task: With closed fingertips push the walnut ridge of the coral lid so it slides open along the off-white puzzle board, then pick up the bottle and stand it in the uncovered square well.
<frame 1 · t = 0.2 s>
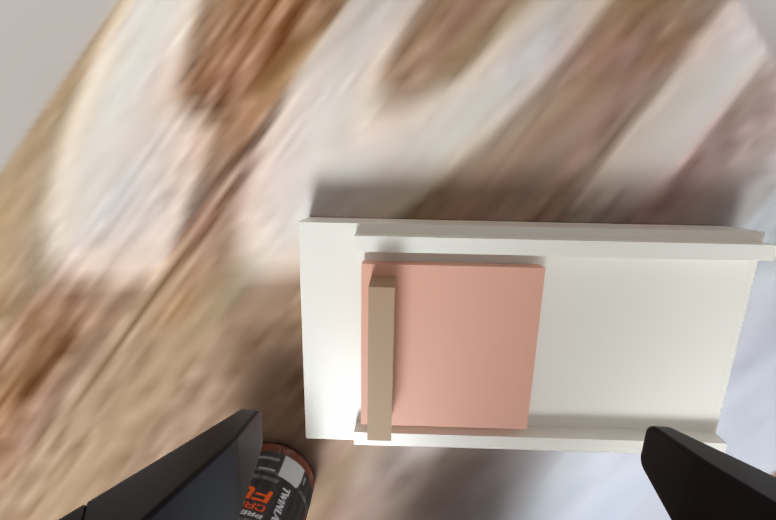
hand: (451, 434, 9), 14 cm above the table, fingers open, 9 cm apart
supplement bottle: (274, 472, 26), on the table
board: (504, 326, 23), on the table
lid: (449, 355, 19), point 4 cm above the table, slide at 0.0 cm
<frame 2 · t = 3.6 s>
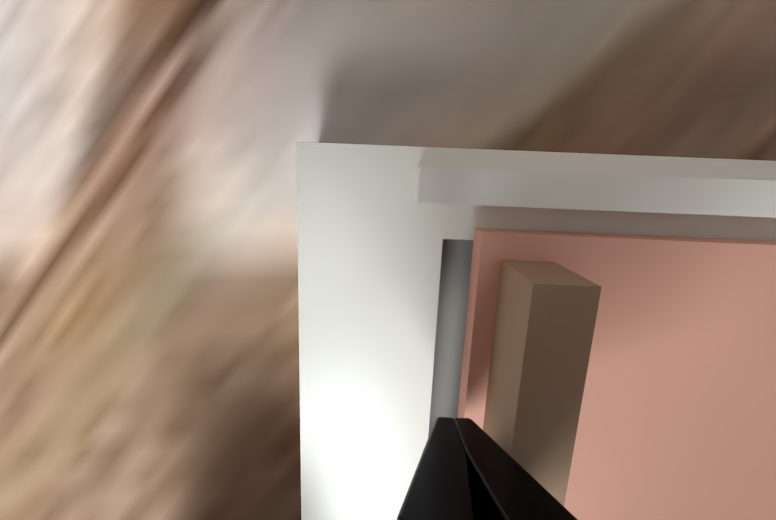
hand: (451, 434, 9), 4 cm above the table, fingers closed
board: (665, 360, 13), on the table
lid: (665, 438, 9), point 4 cm above the table, slide at 1.1 cm, touching gripper
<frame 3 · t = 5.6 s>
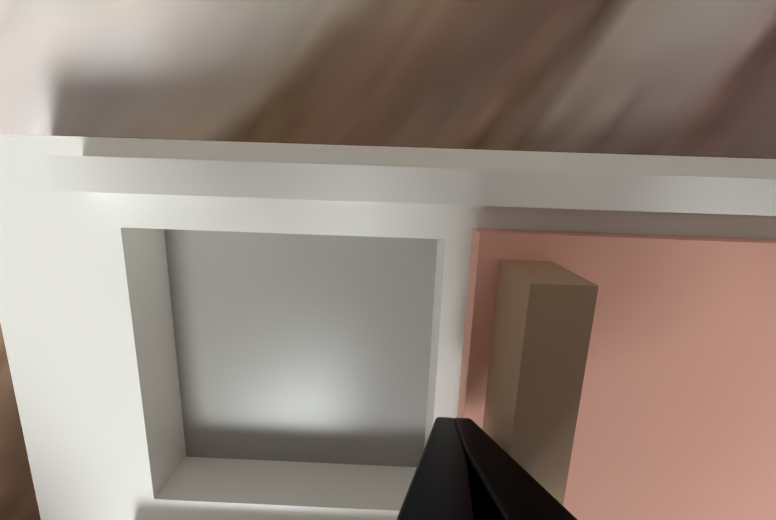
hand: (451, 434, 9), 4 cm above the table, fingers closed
board: (421, 349, 13), on the table
lid: (664, 436, 9), point 4 cm above the table, slide at 9.5 cm, touching gripper
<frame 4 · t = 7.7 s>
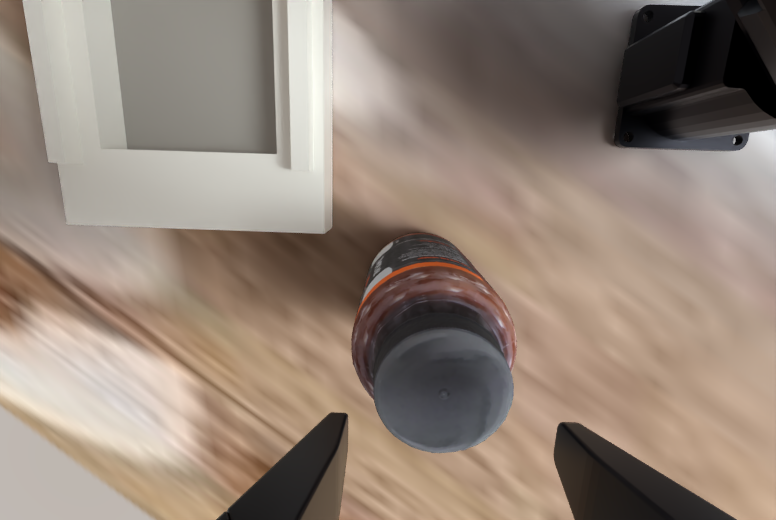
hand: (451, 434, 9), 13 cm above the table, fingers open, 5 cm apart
supplement bottle: (418, 281, 21), on the table
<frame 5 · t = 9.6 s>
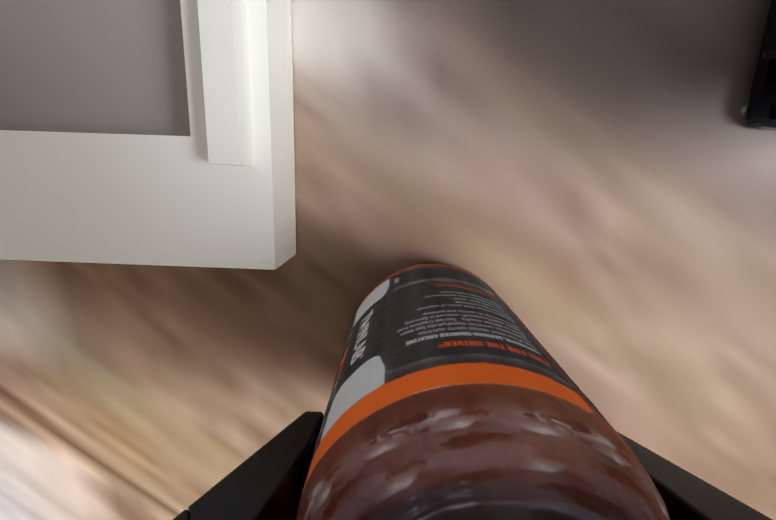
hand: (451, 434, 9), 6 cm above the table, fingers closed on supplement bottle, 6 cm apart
supplement bottle: (428, 333, 14), on the table, touching gripper
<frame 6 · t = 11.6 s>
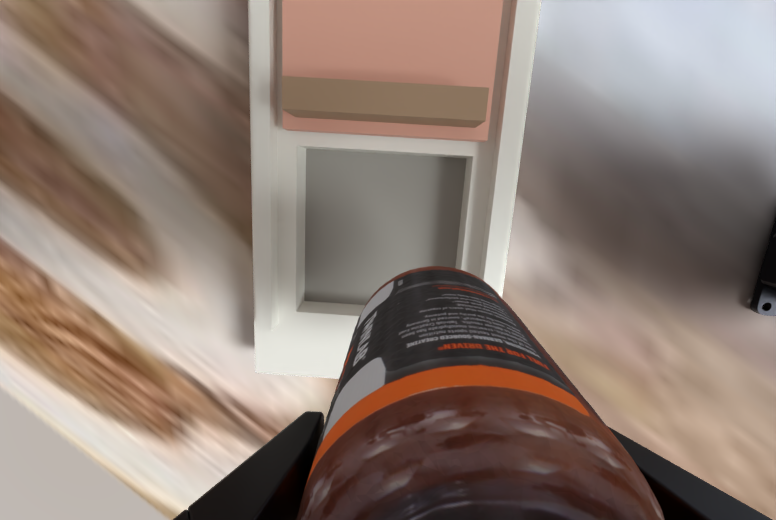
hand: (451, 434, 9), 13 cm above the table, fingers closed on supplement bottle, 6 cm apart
supplement bottle: (432, 335, 14), point 7 cm above the table, touching gripper
board: (386, 158, 20), on the table
lid: (390, 13, 15), point 4 cm above the table, slide at 9.5 cm
when the fingers open (7 cm above the table, at t = 13.4 s): supplement bottle stays where it is, resting on board.
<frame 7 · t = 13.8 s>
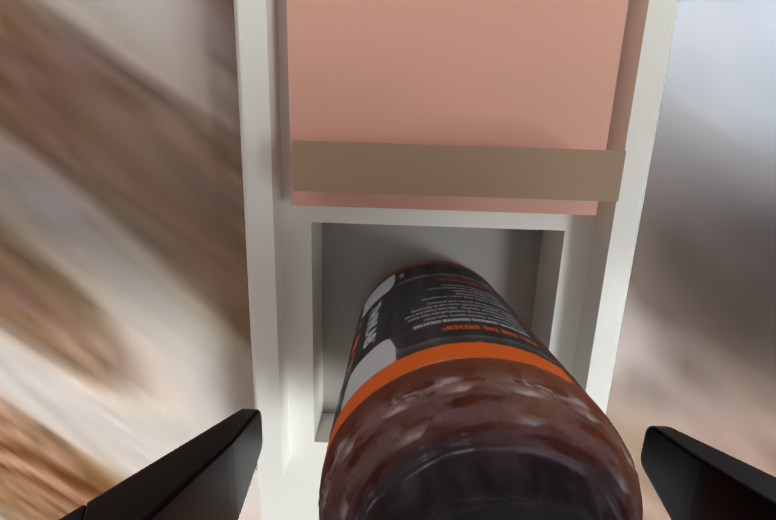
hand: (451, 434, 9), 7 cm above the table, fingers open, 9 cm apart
supplement bottle: (430, 326, 15), resting on board
board: (430, 225, 15), on the table
lid: (457, 34, 10), point 4 cm above the table, slide at 9.5 cm
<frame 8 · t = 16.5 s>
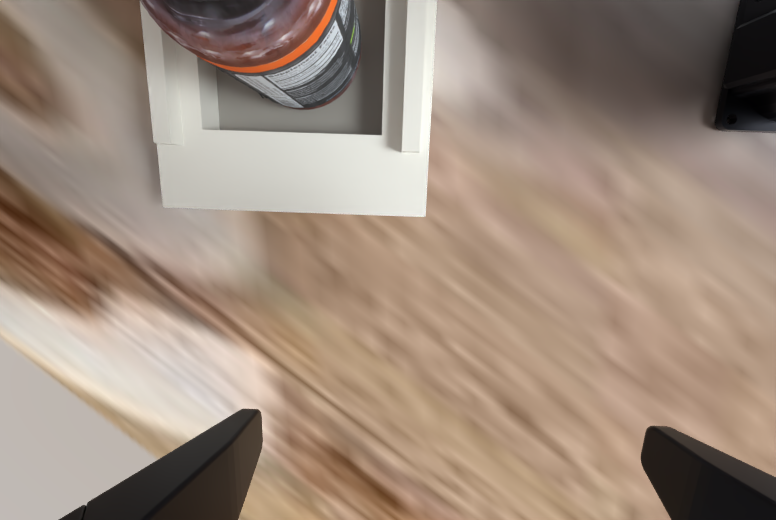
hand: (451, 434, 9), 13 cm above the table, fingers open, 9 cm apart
supplement bottle: (304, 51, 18), resting on board
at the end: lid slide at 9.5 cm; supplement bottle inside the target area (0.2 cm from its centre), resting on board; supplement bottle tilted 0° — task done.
